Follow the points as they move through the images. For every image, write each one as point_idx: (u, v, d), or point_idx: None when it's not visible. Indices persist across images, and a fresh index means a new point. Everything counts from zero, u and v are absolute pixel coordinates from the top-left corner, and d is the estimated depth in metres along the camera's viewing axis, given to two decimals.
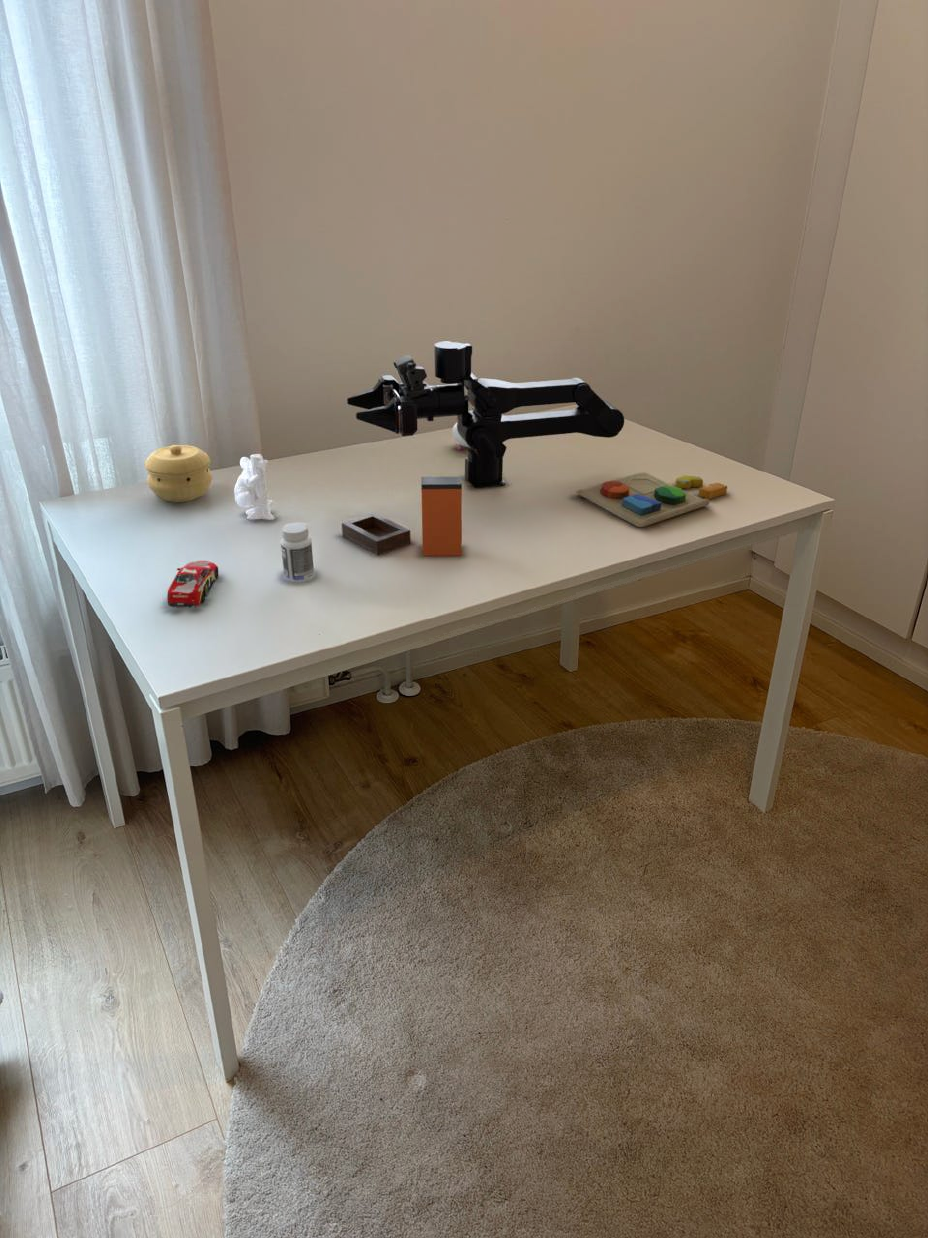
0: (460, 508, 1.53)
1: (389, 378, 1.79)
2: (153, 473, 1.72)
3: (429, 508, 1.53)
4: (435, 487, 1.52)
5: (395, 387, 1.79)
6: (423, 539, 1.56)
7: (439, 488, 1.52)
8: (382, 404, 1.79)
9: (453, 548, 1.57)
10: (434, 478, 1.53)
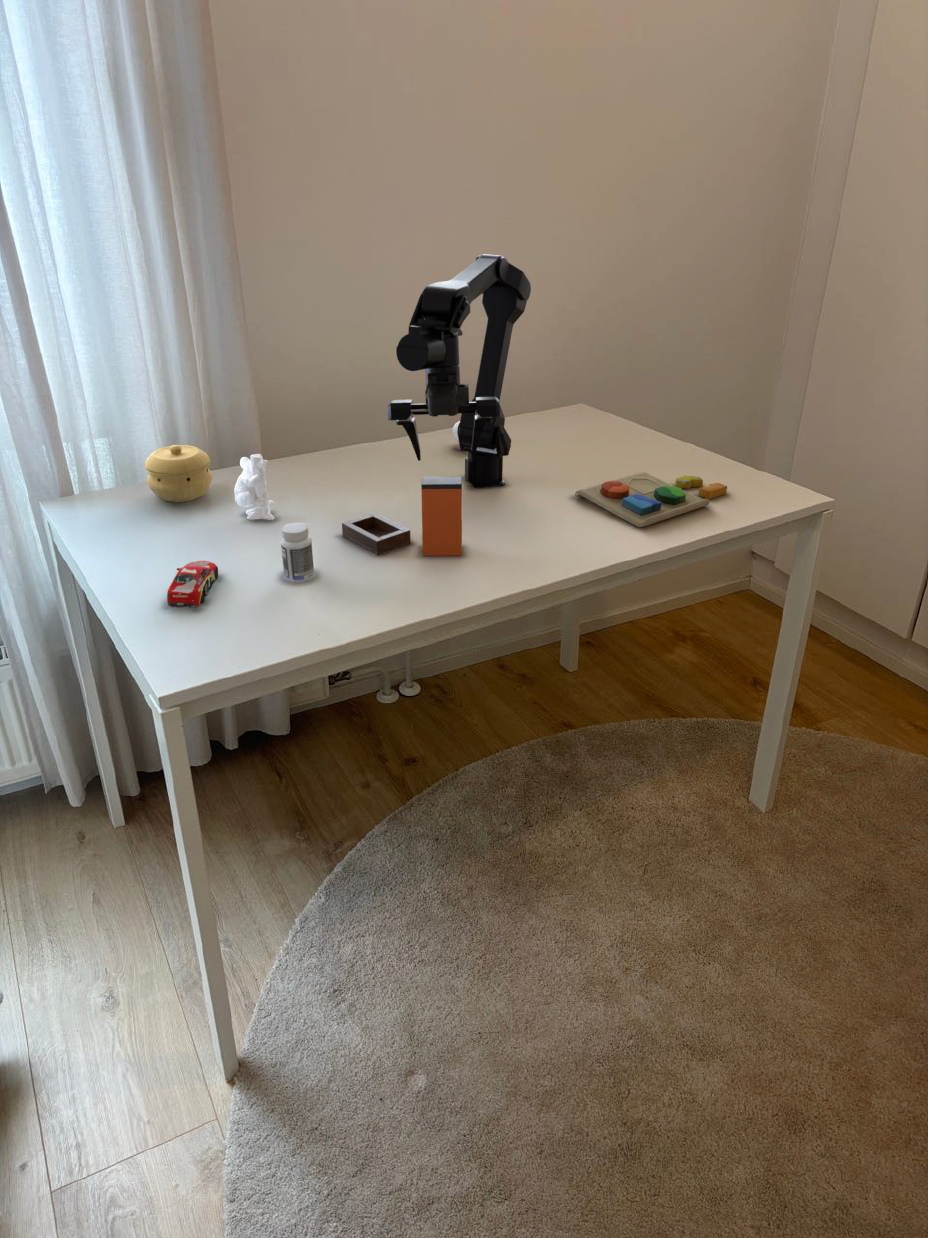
0: (460, 508, 1.53)
1: (402, 413, 1.59)
2: (153, 473, 1.72)
3: (429, 508, 1.53)
4: (435, 487, 1.52)
5: None
6: (423, 539, 1.56)
7: (439, 488, 1.52)
8: (415, 420, 1.64)
9: (453, 548, 1.57)
10: (434, 478, 1.53)
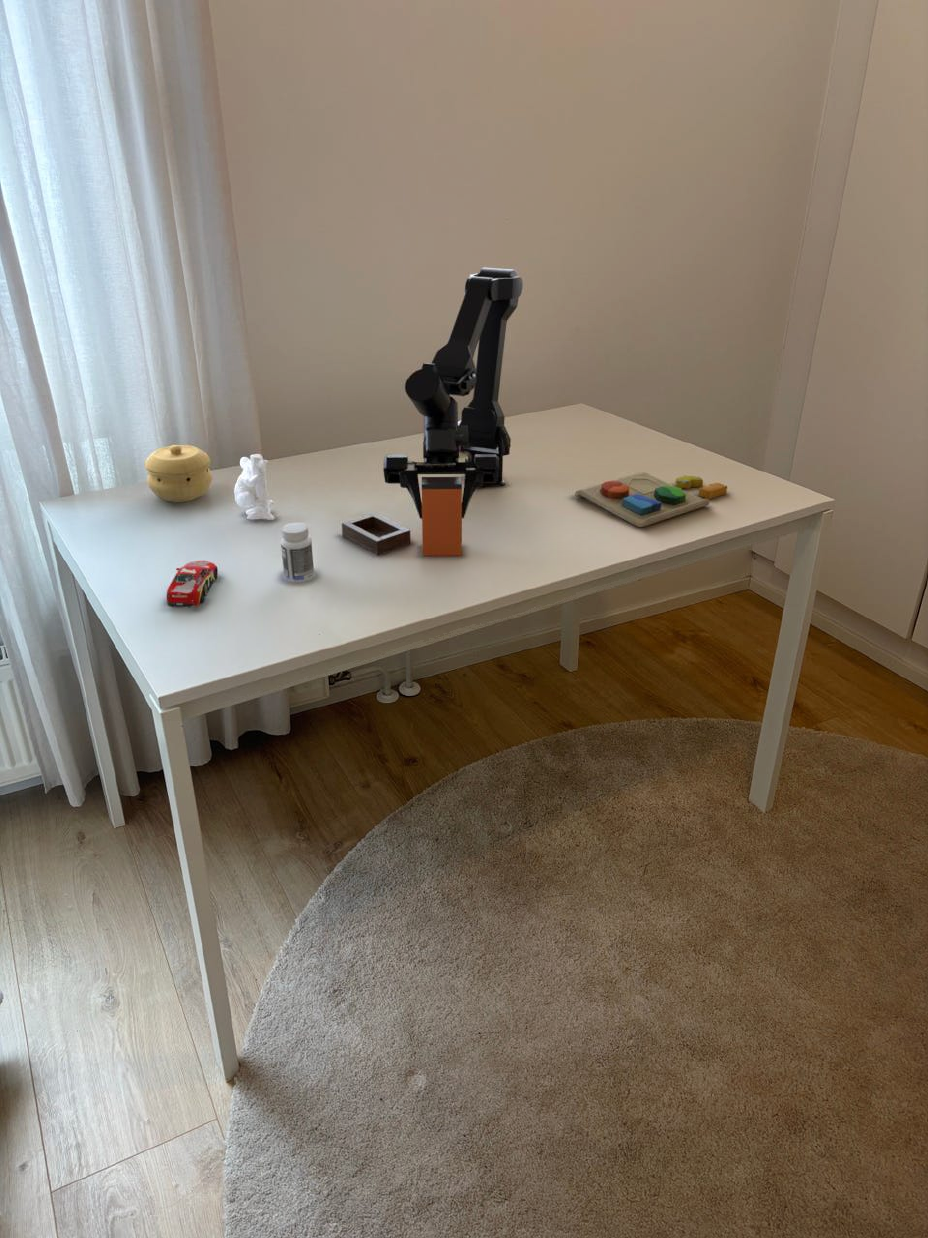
0: (460, 508, 1.53)
1: (398, 461, 1.54)
2: (153, 473, 1.72)
3: (429, 508, 1.53)
4: (435, 487, 1.52)
5: (407, 460, 1.55)
6: (423, 539, 1.56)
7: (439, 488, 1.52)
8: None
9: (453, 548, 1.57)
10: (434, 478, 1.53)
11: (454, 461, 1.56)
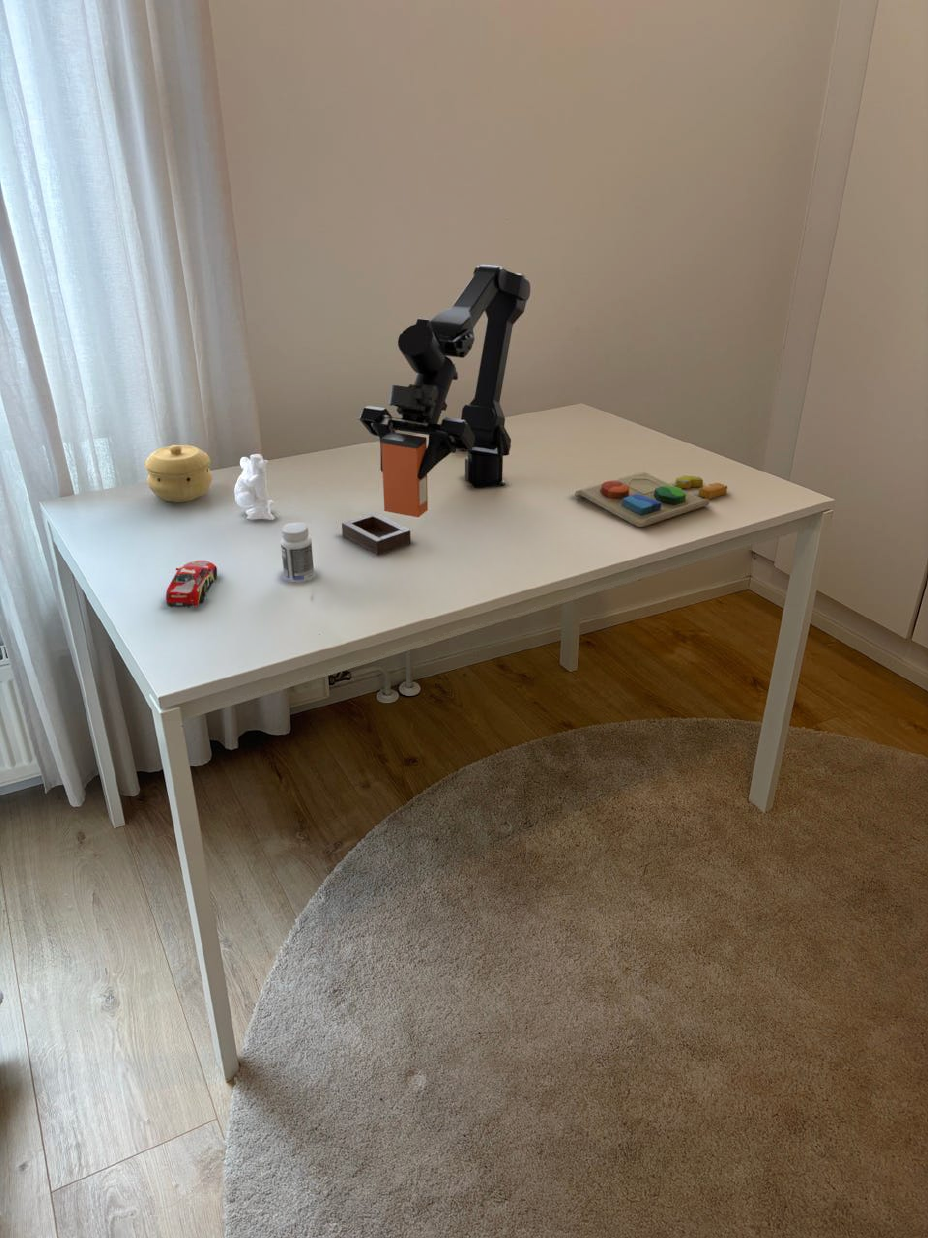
0: (416, 468, 1.51)
1: (373, 413, 1.55)
2: (153, 473, 1.72)
3: (388, 464, 1.53)
4: (393, 443, 1.51)
5: (385, 414, 1.56)
6: (384, 494, 1.56)
7: (396, 444, 1.51)
8: None
9: (410, 508, 1.55)
10: (399, 435, 1.53)
11: (427, 421, 1.54)
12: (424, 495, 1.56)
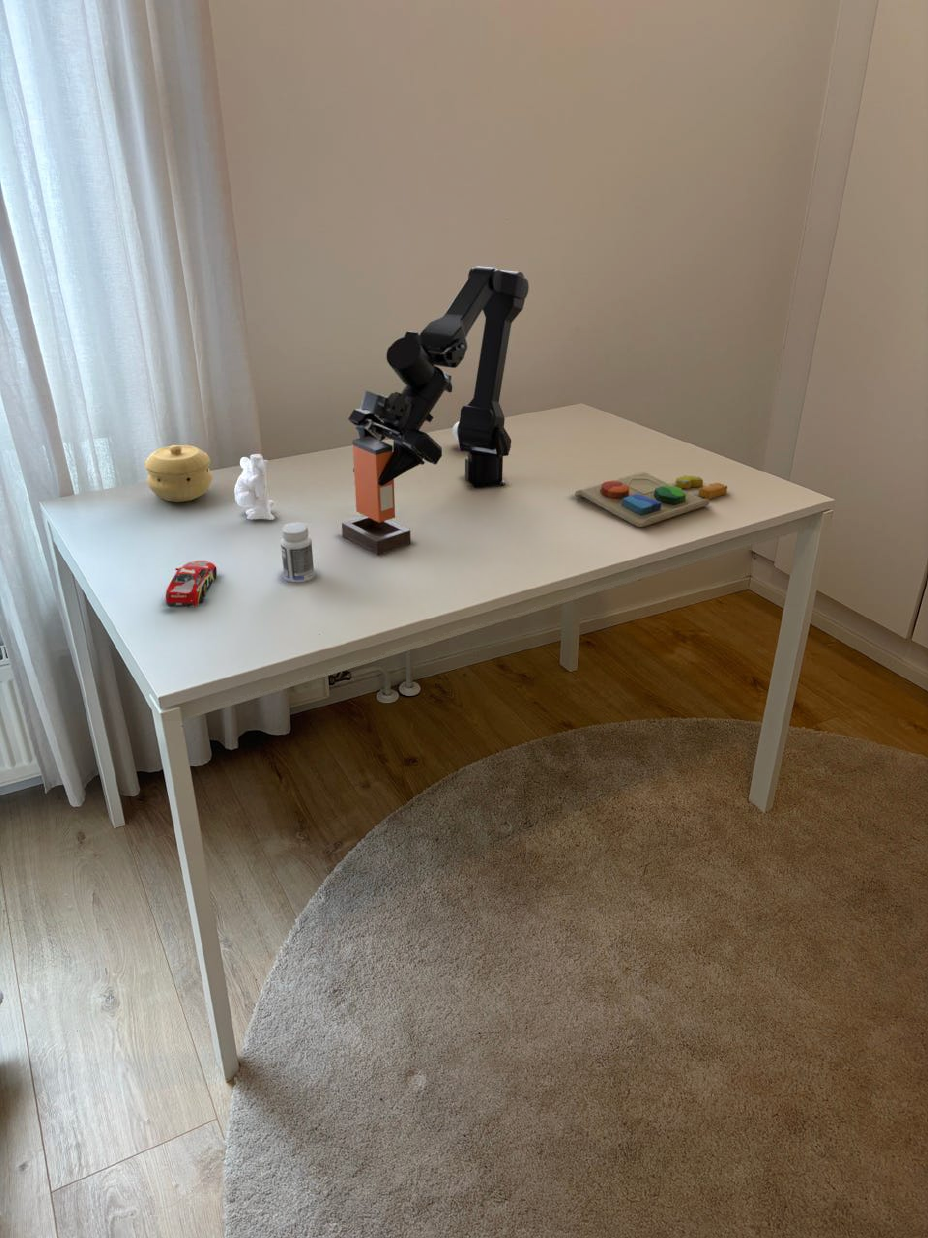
0: (376, 474, 1.54)
1: (358, 415, 1.59)
2: (153, 473, 1.72)
3: (358, 466, 1.57)
4: (360, 446, 1.54)
5: (371, 418, 1.59)
6: (355, 495, 1.60)
7: (362, 448, 1.54)
8: None
9: (373, 512, 1.58)
10: (371, 440, 1.56)
11: (400, 430, 1.55)
12: (388, 502, 1.57)
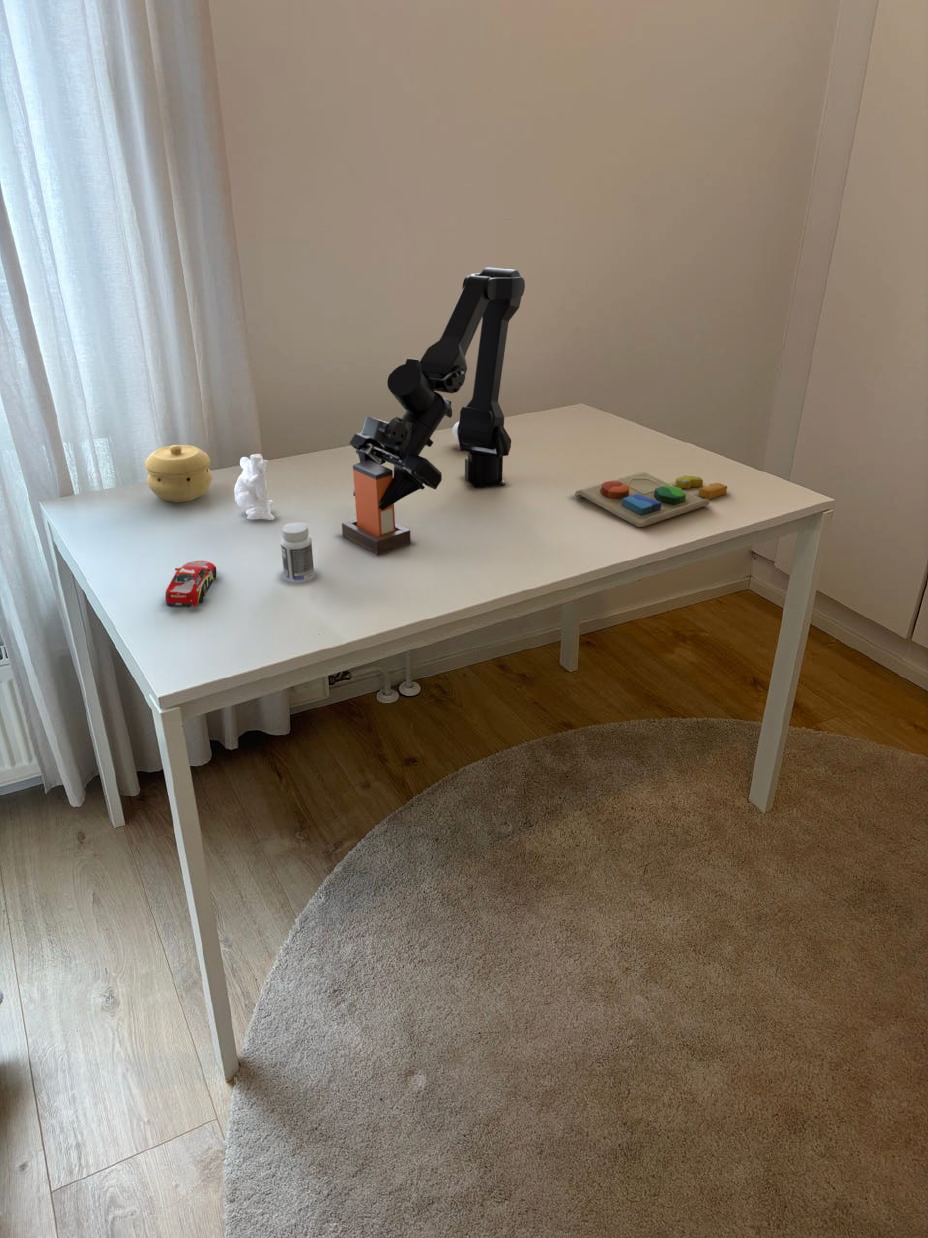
0: (376, 498, 1.56)
1: (359, 440, 1.61)
2: (153, 473, 1.72)
3: (358, 490, 1.59)
4: (360, 471, 1.56)
5: (372, 442, 1.61)
6: None
7: (363, 473, 1.56)
8: None
9: None
10: (371, 464, 1.58)
11: (400, 455, 1.57)
12: (389, 525, 1.59)
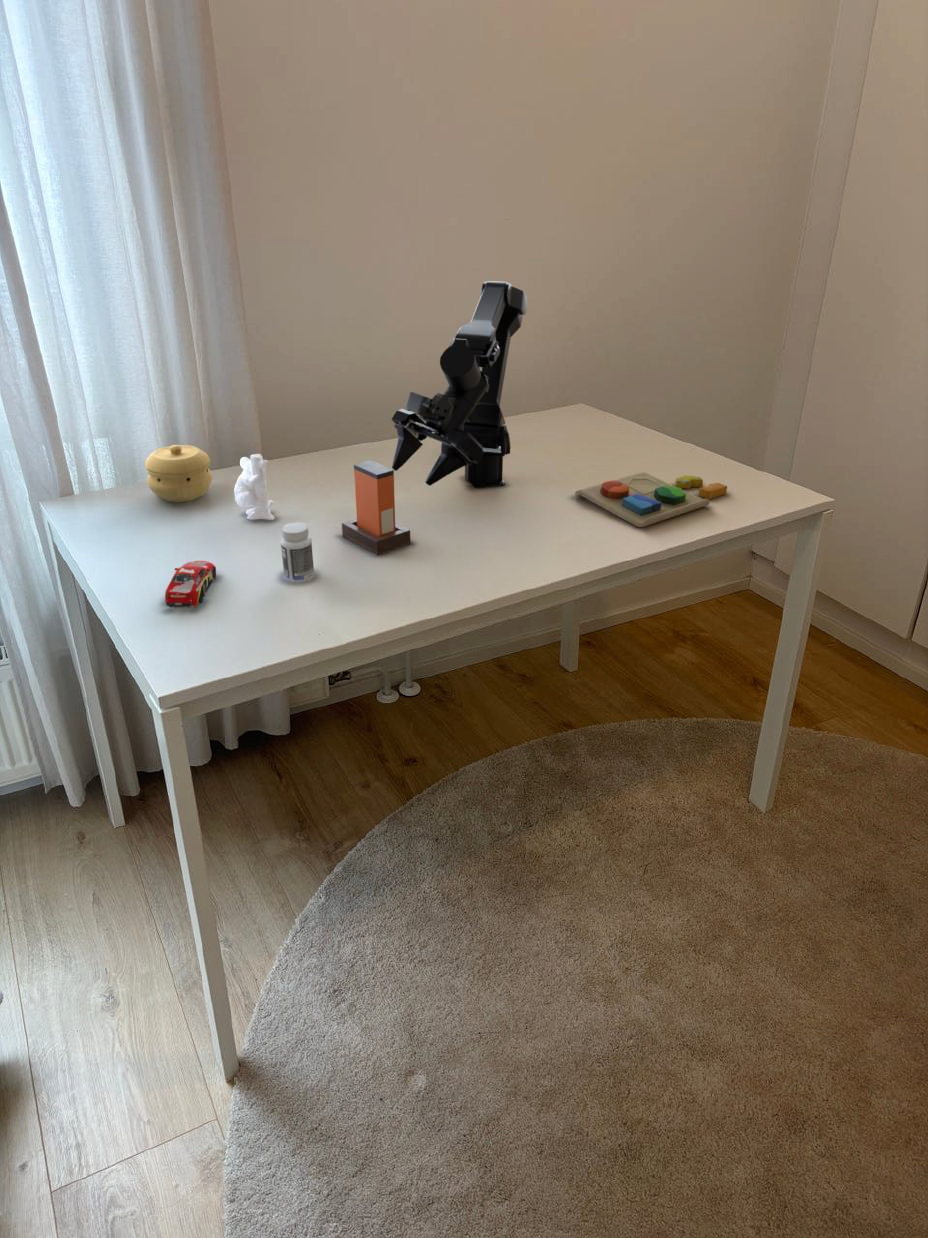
0: (377, 498, 1.56)
1: (401, 416, 1.65)
2: (153, 473, 1.72)
3: (359, 490, 1.59)
4: (361, 471, 1.56)
5: (414, 418, 1.66)
6: (357, 518, 1.62)
7: (364, 473, 1.56)
8: (416, 440, 1.68)
9: None
10: (373, 464, 1.58)
11: (443, 430, 1.61)
12: (389, 525, 1.59)
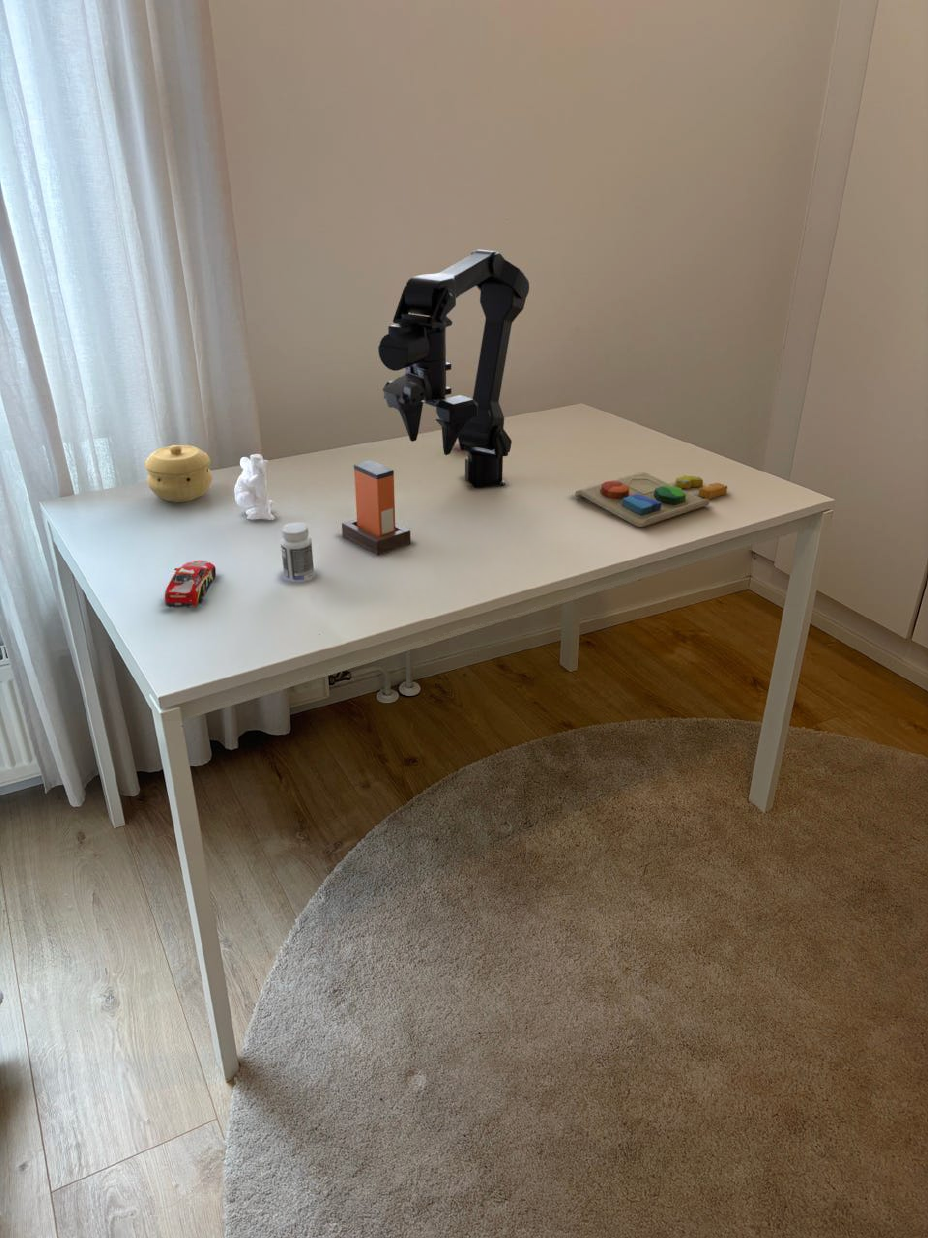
0: (377, 498, 1.56)
1: None
2: (153, 473, 1.72)
3: (359, 490, 1.59)
4: (361, 471, 1.56)
5: None
6: (357, 518, 1.62)
7: (364, 473, 1.56)
8: None
9: None
10: (373, 464, 1.58)
11: (431, 399, 1.60)
12: (389, 525, 1.59)
